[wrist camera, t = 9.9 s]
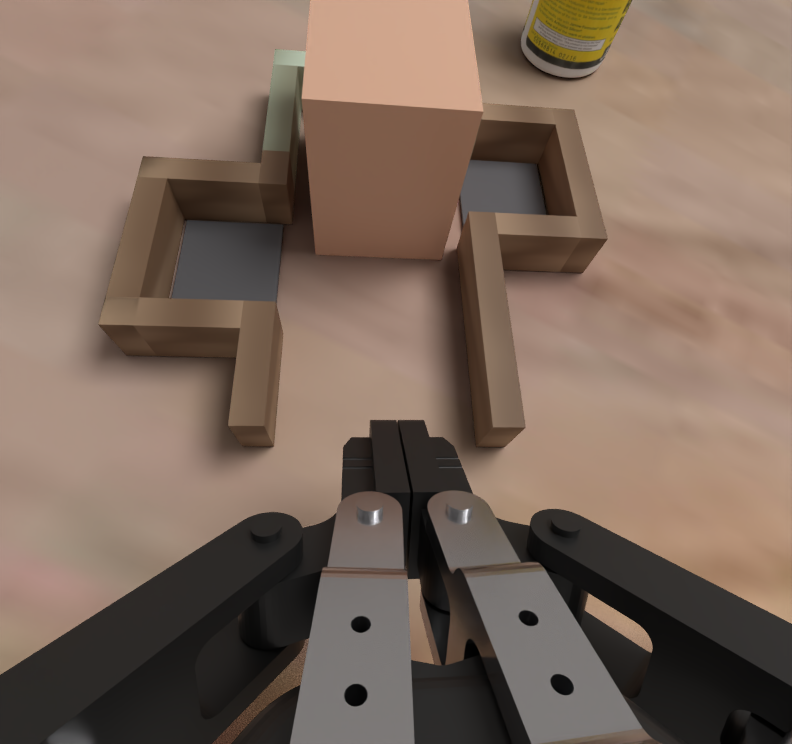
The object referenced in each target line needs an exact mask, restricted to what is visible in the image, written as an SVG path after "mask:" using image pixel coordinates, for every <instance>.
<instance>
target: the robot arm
mask: <svg viewBox="0 0 792 744" xmlns="http://www.w3.org/2000/svg"><path fill="white" fill-rule="evenodd" d="M407 577H408V579H420V584H421V595H420V611H421V615H422V619H423V622H424V626H425V630H426V634H427V638H428V642H429V646H430V650H431V654H432V657H433V661H434V665H433V664H428V663H423V662H418V661H413V660H411V650H410V627H409V604H408V581H407ZM588 593H589V594H591V595H593V596H594V597H596V598H598V599H599V600H601V601H602V602H604V603H606V604H607V605H609V606H610V607H612V608H614V609H615V610H617V611H618V612H620V613H622V614H623V615H625V616H627V617H628V618H630V619H631V620H633V621H635V622H636V623H638V624H639V625H640V626H641V627H642V628H643V629H644V630H645V631H646V632H647V633H648V635H649V637H650V639H651V641H652V645H653V650H652V653H650V652H648V651H646V650H645V649H643V648H642V647H640V646H639V645H637V644H635V643H634V642H632V641H631V640H629V639H628V638H626V637H625V636H623V635H622V634H620V633H618V632H617V631H615V630H614V629H612V628H611V627H609V626H608V625H606V624H605V623H603V622H602V621H600V620H598V619H597V618H595V617H594V616H592V615H591V614H589V613H588V612H586V611H585V606H586V601H587V597H588ZM308 638H309V643H308V648H307V654H306V659H305V664H304V670H303V675H302V681H301V685H299V686H297V687H295V688H293V689H292V690H290V691H288V692H286V693H285V694H283V695H281V696H280V697H279V698H277V699H276V700H274V701H273V702H272V703H270V704H269V705H268V706H267V707H266V708H265V709H264V710H262V711H261V712H260V713H259V714H258V715H257V716H256V717H255V718H254V719H253V720H252V721H251V722H250V723H249V724H248V725H247V726H246V728H245V729H244V730H243V731H242V732H241V733H240V734H239V736H238V737H237V738H236V739H235V740H234V741H233V742H232V743H231V744H792V624H791V623H789V622H787V621H785V620H783V619H781V618H779V617H777V616H775V615H773V614H771V613H769V612H768V611H766V610H764V609H762V608H760V607H758V606H756V605H754V604H752V603H750V602H748V601H746V600H744V599H742V598H740V597H738V596H736V595H734V594H732V593H730V592H728V591H726V590H725V589H723V588H721V587H719V586H717V585H715V584H713V583H711V582H709V581H707V580H705V579H703V578H701V577H699V576H697V575H695V574H693V573H691V572H689V571H687V570H685V569H683V568H682V567H680V566H678V565H676V564H674V563H672V562H670V561H668V560H666V559H664V558H662V557H660V556H658V555H656V554H654V553H652V552H650V551H648V550H646V549H644V548H642V547H641V546H639V545H637V544H635V543H633V542H631V541H629V540H627V539H625V538H623V537H621V536H619V535H617V534H615V533H613V532H611V531H609V530H607V529H605V528H603V527H601V526H599V525H598V524H596V523H594V522H592V521H590V520H588V519H586V518H584V517H582V516H580V515H578V514H575V513H572V512H569V511H566V510H560V509H546V510H542V511H539V512H537V513H535V514H534V515H533V517H532V518H531V522H530V526H528V525H523V524H518V523H513V522H508V521H504V520H501V519H498V518H496V517H495V515H494V514H493V512H492V510H491V508H490V507H489V505H488V504H487V503H486V502H485V501H484V500H483V499H482V498H480V497H478V496H476V495H474V494H473V493H472V490H471V488H470V485H469V483H468V480H467V478H466V475H465V473H464V470H463V468H462V465H461V463H460V460H459V459H458V455H457V453H456V450H455V448H454V446H453V445H451V444H450V443H449V442H448V441H447V440H445V439H444V438H443V437H429V434H428V431H427V428H426V425H425V422H424V420H398V422H397V421H396V420H370V434H369V437H351V438H350V440H349V441H348V442H347V443H346V444H345V445H344V447H343V470H342V498H341V502H340V504H339V505H338V508H337V513H336V514H335V515H334V516H333V517H331V518H330V519H328V520H326V521H325V522H322V523H320V524H317V525H313V526H309V527H305V528H302V526H301V524H300V522H299V521H298V520H297V519H296V518H294V517H292V516H290V515H288V514H284V513H278V512H269V513H261V514H257V515H254V516H251V517H249V518H247V519H245V520H243V521H241V522H240V523H238V524H237V525H235V526H234V527H232V528H230V529H229V530H227V531H226V532H224V533H223V534H221V535H219V536H218V537H216V538H215V539H213V540H212V541H210V542H208V543H207V544H205V545H204V546H202V547H201V548H199V549H197V550H196V551H194V552H193V553H191V554H190V555H188V556H186V557H185V558H183V559H182V560H180V561H179V562H177V563H175V564H174V565H172V566H171V567H169V568H168V569H166V570H164V571H163V572H161V573H160V574H158V575H157V576H155V577H153V578H152V579H150V580H149V581H147V582H146V583H144V584H142V585H141V586H139V587H138V588H136V589H135V590H133V591H131V592H130V593H128V594H127V595H125V596H124V597H122V598H120V599H119V600H117V601H116V602H114V603H113V604H111V605H109V606H108V607H106V608H105V609H103V610H102V611H100V612H98V613H97V614H95V615H94V616H92V617H91V618H89V619H87V620H86V621H84V622H83V623H81V624H80V625H78V626H76V627H75V628H73V629H72V630H70V631H69V632H67V633H65V634H64V635H62V636H61V637H59V638H58V639H56V640H54V641H53V642H51V643H50V644H48V645H47V646H45V647H43V648H42V649H40V650H39V651H37V652H36V653H34V654H32V655H31V656H29V657H28V658H26V659H25V660H23V661H21V662H20V663H18V664H17V665H15V666H14V667H12V668H10V669H9V670H7V671H6V672H4V673H3V674H1V675H0V744H212V743H213V742H214V741H215V740H216V739H217V738H218V737H219V736H220V735H221V734H222V733H223V732H224V731H225V730H226V729H227V728H228V726H229V725H230V724H231V723H232V722H233V721H234V720H235V719H236V718H237V717H238V716H239V715H240V714H241V713H242V712H243V711H244V710H245V709H246V708H247V707H248V706H249V705H250V704H251V703H252V702H253V701H254V700H255V699H256V698H257V697H258V696H259V695H260V694H261V693H262V692H263V690H264V689H265V688H266V687H267V686H268V685H269V684H270V683H271V682H272V681H273V680H274V679H275V678H276V677H277V676H278V675H279V674H280V673H281V672H282V671H283V670H284V669H285V668H286V667H287V666H288V665H289V664H290V663H291V662H292V661H293V660H294V659H295V658H296V657H297V655H298V654H299V653H300V651H301V650H302V648H303V646H304V643H305V639H308Z"/></svg>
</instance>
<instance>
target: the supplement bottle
mask: <svg viewBox="0 0 792 744" xmlns="http://www.w3.org/2000/svg"><path fill="white" fill-rule="evenodd" d="M631 2H632V0H533V1H532V4H531V7H530V11H529V14H528V17H527V20H526V23H525V26H524V30H523V33H522V37H521V47H522V51H523V53H524V54H525V56H526V57H527V59H528V60H529V61H530V62H531V63H532V64H533V65H534V66H536V67H537V68H539V69H540V70H542V71H544V72H546V73H549V74H552V75H555V76H560V77H568V78H575V77H582V76H586V75H589V74H591V73H593V72H594V71H595V70H596V69H597V68H598V67H599V66H600V65H601V63H602V61H603V59H604V57H605V55H606V53H607V52H608V50H609V48H610V45H611V43H612V41H613V39H614V37H615V35H616V33H617V31H618V29H619V27H620V25H621V23H622V20H623V18H624V16H625V14H626V12H627V10H628V8H629V6H630V4H631Z"/></svg>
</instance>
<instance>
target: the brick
mask: <svg viewBox="0 0 792 744" xmlns="http://www.w3.org/2000/svg"><path fill="white" fill-rule="evenodd" d="M302 108H303V119H304V131H305V142H306V153H307V164H308V175H309V186H310V197H311V209H312V220H313V231H314V242H315V253H316V255H334V256H358V257H382V258H406V259H430V260H442V256H443V252H444V249H445V245H446V242H447V238H448V235H449V231H450V228H451V224H452V221H453V217H454V214H455V210H456V207H457V203H458V200H459V196H460V193H461V189H462V186H463V182H464V179H465V175H466V172H467V168H468V165H469V161H470V158H471V154H472V151H473V147H474V143H475V140H476V136H477V133H478V129H479V126H480V122H481V119H482V115H483V112H484V111H483V104H482V97H481V90H480V83H479V76H478V68H477V61H476V54H475V47H474V40H473V33H472V26H471V19H470V12H469V4H468V0H310V9H309V21H308V32H307V43H306V55H305V66H304V77H303V89H302Z"/></svg>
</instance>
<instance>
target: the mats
mask: <svg viewBox="0 0 792 744" xmlns="http://www.w3.org/2000/svg"><path fill="white" fill-rule="evenodd" d="M460 206H461V215H462V225H463V227H464V224H465V221H466V218H467V215H468V212H469V211H473V212H493V213H513V214H533V215H546V211H545V206H544V201H543V196H542V191H541V186H540V181H539V176H538V171H537V166H536V164H532V163H515V162H498V161H481V160H470V161H469V165H468V168H467V172H466V175H465V179H464V182H463V186H462V189H461V193H460ZM282 238H283V224H263V223H241V222H219V221H196V220H187V223H186V228H185V233H184V238H183V243H182V248H181V253H180V258H179V264H178V269H177V274H176V279H175V284H174V289H173V294H172V298H175V299H208V300H241V301H274V302H276V303H277V292H278V281H279V270H280V259H281V248H282Z"/></svg>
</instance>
